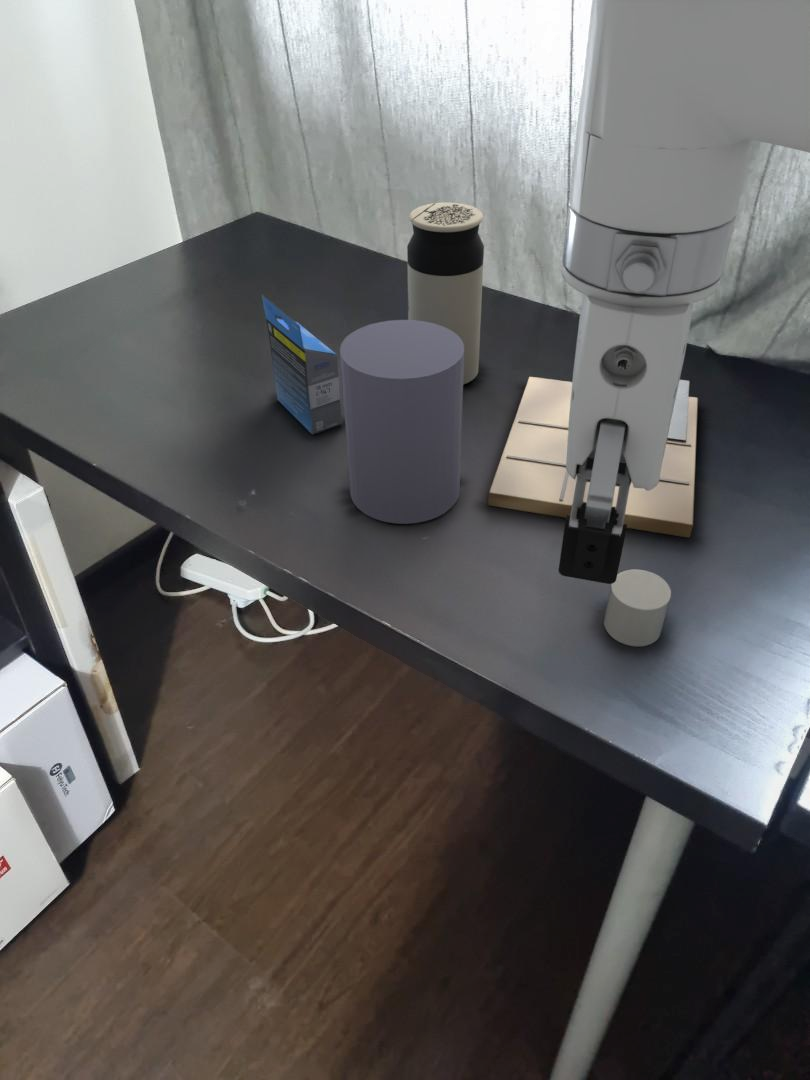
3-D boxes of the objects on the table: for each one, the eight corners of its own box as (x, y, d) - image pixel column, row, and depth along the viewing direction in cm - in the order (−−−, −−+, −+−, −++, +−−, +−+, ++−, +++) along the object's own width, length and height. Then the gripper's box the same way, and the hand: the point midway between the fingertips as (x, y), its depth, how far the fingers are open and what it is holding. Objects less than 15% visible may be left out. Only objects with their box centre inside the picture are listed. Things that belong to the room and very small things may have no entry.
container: (474, 473, 80) (480, 330, 70) (436, 537, 73) (438, 388, 63) (376, 452, 83) (370, 312, 74) (331, 511, 76) (318, 365, 66)
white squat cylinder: (662, 611, 66) (672, 574, 63) (659, 651, 62) (670, 614, 60) (606, 601, 67) (614, 564, 64) (601, 640, 63) (608, 603, 61)
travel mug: (491, 368, 96) (500, 210, 84) (453, 397, 91) (457, 234, 79) (434, 349, 100) (435, 196, 88) (395, 377, 95) (391, 218, 83)
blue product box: (344, 425, 87) (336, 316, 79) (311, 436, 86) (299, 326, 78) (306, 389, 93) (294, 284, 85) (274, 399, 91) (259, 293, 83)
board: (695, 395, 91) (699, 382, 89) (689, 538, 72) (693, 523, 71) (532, 375, 95) (533, 361, 93) (487, 505, 76) (488, 490, 75)
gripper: (728, 336, 32) (650, 637, 43) (725, 192, 45) (666, 454, 56) (536, 315, 34) (508, 610, 45) (585, 182, 46) (554, 438, 57)
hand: (596, 523), depth 50 cm, fingers open, 9 cm apart
